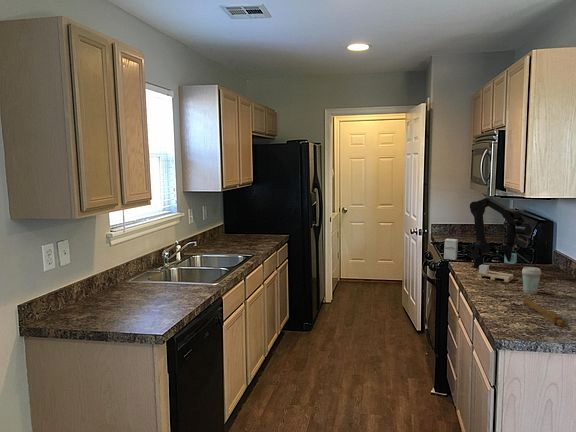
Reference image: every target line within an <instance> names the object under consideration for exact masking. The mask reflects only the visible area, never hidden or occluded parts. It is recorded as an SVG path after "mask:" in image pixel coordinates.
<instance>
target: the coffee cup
mask: <svg viewBox="0 0 576 432" xmlns="http://www.w3.org/2000/svg"><path fill="white" fill-rule="evenodd" d="M521 272H522V284H523V285H522V287H523V289H522V290H523V293H524V294H527V295H537V294H538V289H539V285H540V280H541V275H542V270H541V268H539V267H534V266H524V267H523V268H522V270H521Z"/></svg>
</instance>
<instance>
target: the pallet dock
mask: <svg viewBox="0 0 576 432" xmlns="http://www.w3.org/2000/svg"><path fill="white" fill-rule="evenodd" d="M476 276H477V277H476V278H479V279H482V278H483V277H488V278H489V277H490V281H491V280H492V281H495V280H497V279H502V280H503V281H504V283H509V282H510V281H512V280H514V274H513V273H506V272H499V271H492V270H489V273H487V274H483V273H479V271H478V272H477V274H476Z"/></svg>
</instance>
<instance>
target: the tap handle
mask: <svg viewBox="0 0 576 432" xmlns="http://www.w3.org/2000/svg"><path fill="white" fill-rule="evenodd" d="M522 303H523V304H524V305H526V306H527V307H528V308H531V309H533V310H534V311H536V312H538V313H540V315H542V318H544V319H545V320H546V321H548V322H550V323H551V324H553V325H557V326H559V327H560V328H561V327H565V326H566V321H565V320H563V317H562V316H561V315H559V313H556V312H554V311H553V310H547V309H544V308H543V307H542V306H540V305H539V304H538V303H536V302H534V301H533V300H531V299H530V298H528V297H525V298H524V299H523V300H522Z"/></svg>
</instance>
